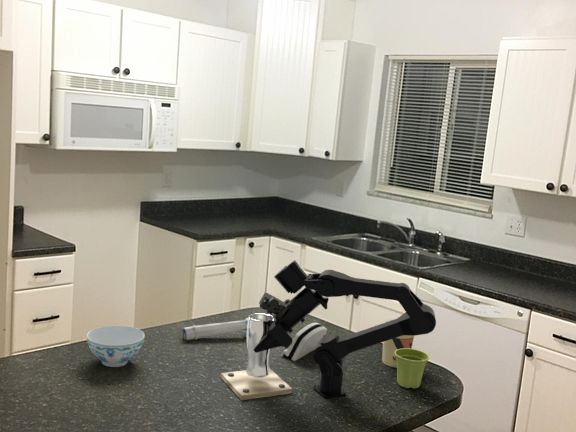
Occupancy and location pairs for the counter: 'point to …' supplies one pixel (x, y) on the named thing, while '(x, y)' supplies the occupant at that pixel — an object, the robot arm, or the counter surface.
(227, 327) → the grey long bar
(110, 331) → the chinaware
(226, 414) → the counter surface
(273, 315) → the robot arm
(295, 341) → the white layered curved block
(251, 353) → the metal tumbler
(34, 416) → the counter surface
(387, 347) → the cream lidded tub
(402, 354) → the plant pot
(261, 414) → the counter surface
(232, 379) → the bolt plate
